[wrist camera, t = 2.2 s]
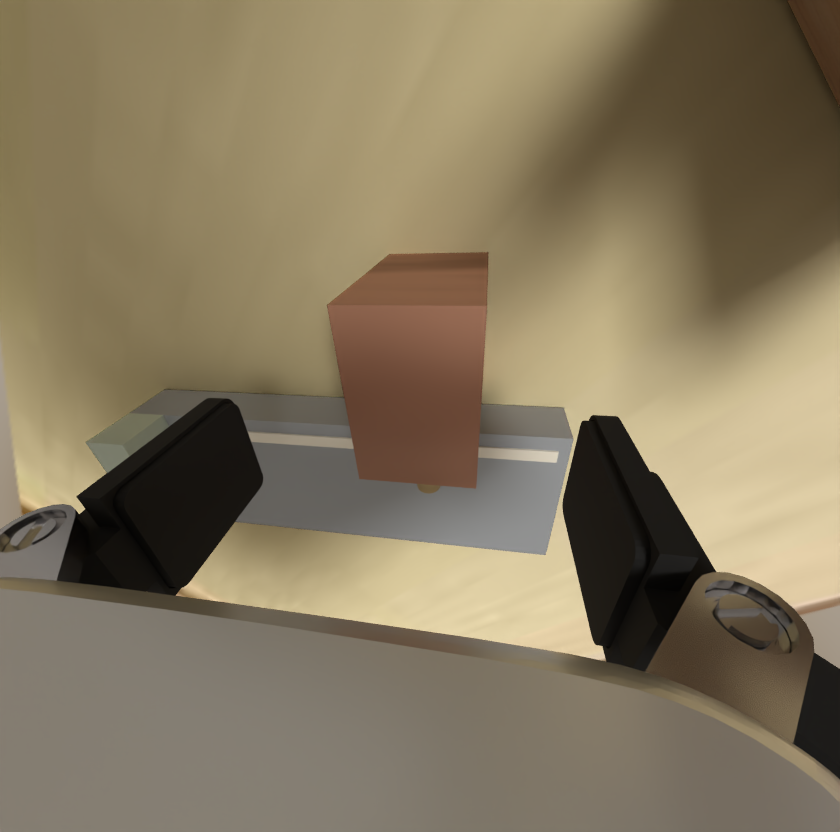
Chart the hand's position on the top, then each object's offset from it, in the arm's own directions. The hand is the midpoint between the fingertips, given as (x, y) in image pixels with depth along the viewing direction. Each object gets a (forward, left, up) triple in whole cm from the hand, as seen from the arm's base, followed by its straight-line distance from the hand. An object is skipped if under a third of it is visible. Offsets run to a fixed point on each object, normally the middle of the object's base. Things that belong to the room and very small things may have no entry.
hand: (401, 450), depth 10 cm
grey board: (+7, -5, -8) cm, 12 cm away
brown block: (+1, 0, -8) cm, 8 cm away
